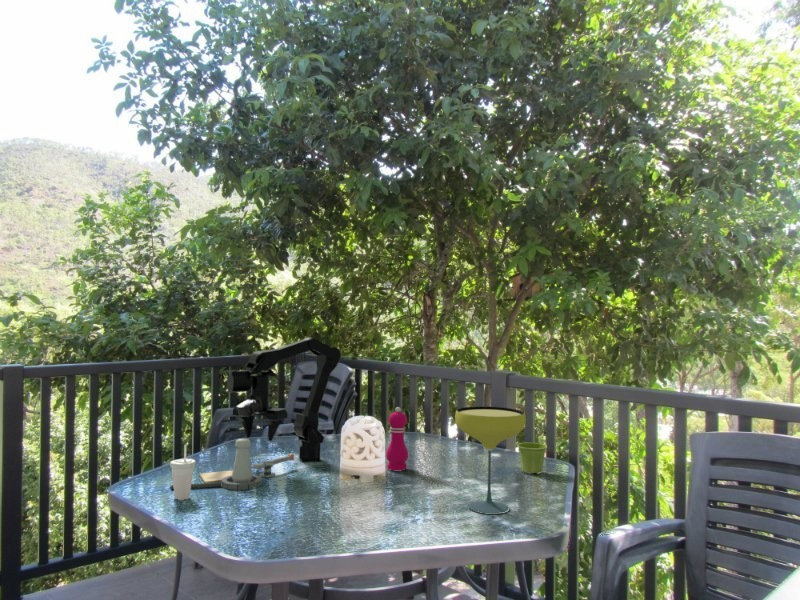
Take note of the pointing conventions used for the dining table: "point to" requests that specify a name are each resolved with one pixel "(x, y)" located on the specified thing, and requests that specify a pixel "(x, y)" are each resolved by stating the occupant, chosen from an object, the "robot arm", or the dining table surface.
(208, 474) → the coaster
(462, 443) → the dining table surface
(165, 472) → the dining table surface
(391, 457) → the pepper mill
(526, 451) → the plant pot
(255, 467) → the clip
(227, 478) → the grey ring with rod
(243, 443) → the salt shaker
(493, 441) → the cocktail glass
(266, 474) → the clip post
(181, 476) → the smoothie
